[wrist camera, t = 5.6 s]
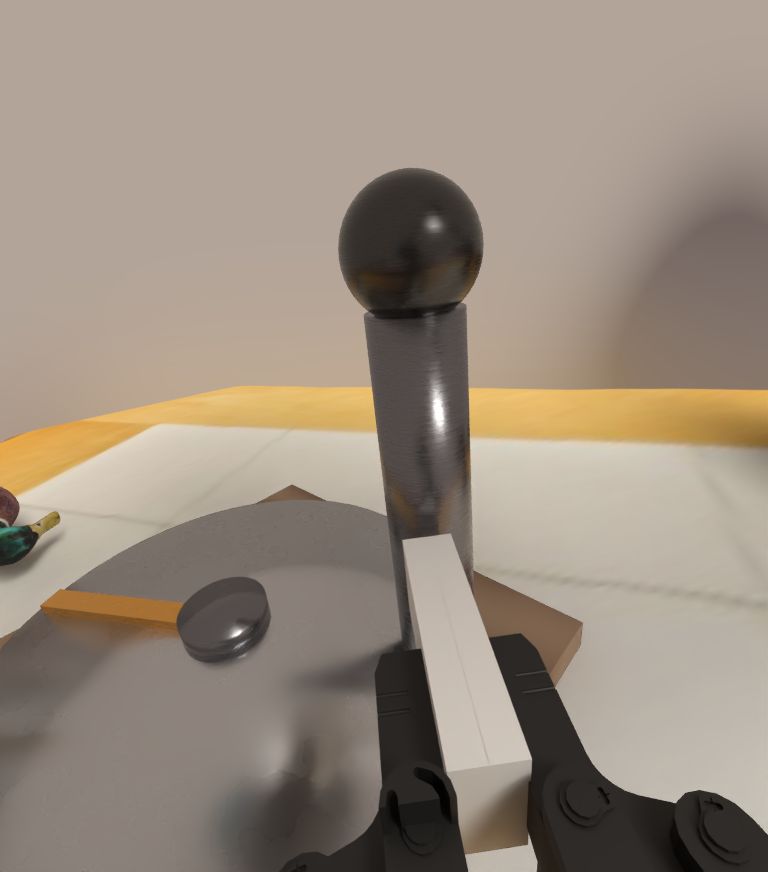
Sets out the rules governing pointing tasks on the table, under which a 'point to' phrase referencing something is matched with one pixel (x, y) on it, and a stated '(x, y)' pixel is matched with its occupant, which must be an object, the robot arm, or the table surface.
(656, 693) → the table surface
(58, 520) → the decorative duck model
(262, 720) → the dial
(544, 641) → the walnut stand board
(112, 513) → the table surface
